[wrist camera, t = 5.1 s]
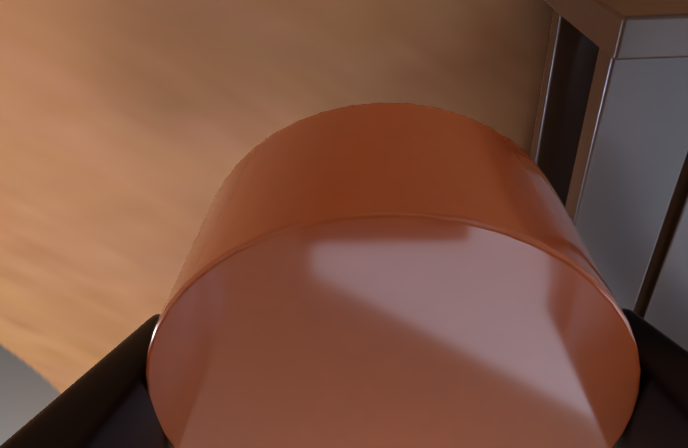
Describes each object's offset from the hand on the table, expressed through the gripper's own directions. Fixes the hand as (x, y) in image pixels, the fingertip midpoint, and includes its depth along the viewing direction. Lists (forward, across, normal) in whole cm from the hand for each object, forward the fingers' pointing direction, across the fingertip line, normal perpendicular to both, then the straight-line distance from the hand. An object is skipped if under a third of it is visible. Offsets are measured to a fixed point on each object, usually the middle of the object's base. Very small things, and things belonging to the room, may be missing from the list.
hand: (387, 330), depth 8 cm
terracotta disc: (+1, 0, 0) cm, 1 cm away
